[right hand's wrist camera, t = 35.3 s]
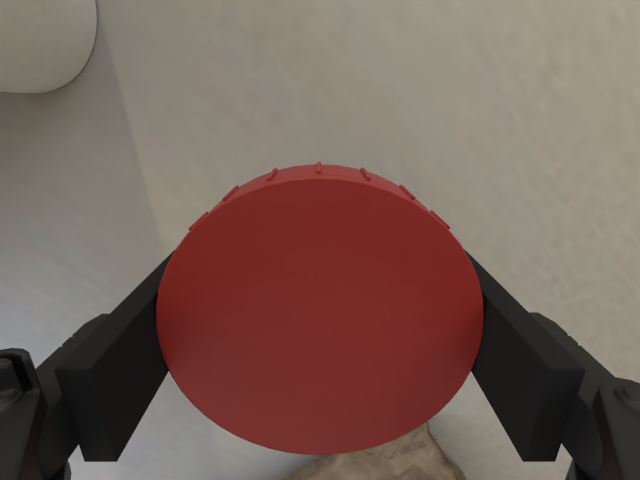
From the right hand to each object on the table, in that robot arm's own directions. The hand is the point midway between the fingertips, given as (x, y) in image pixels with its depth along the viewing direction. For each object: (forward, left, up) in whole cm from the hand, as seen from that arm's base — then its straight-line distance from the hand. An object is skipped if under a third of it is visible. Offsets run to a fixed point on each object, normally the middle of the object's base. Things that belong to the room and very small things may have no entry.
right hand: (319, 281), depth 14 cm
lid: (0, 0, +3) cm, 3 cm away
